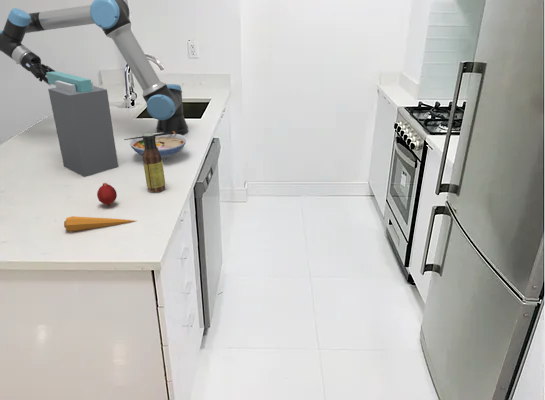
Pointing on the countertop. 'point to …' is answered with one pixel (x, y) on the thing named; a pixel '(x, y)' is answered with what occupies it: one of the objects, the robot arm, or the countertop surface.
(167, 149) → the ramen bowl
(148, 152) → the sauce bottle
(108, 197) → the onion
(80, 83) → the teal rectangular bar
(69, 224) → the carrot
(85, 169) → the block
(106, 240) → the countertop surface
